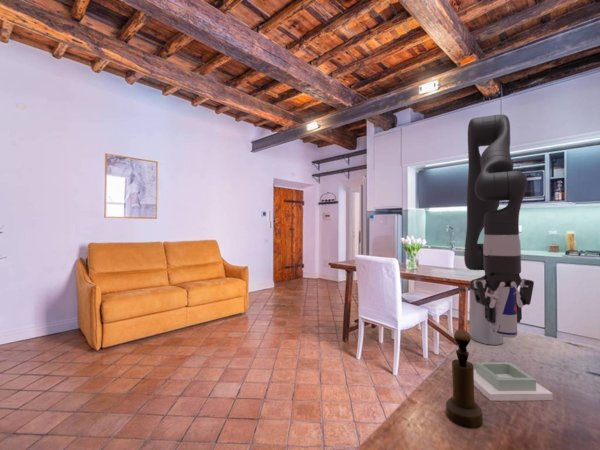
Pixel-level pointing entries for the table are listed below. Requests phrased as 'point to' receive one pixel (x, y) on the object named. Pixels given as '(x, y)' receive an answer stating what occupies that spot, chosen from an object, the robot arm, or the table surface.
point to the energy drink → (505, 313)
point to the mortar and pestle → (463, 387)
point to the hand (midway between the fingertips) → (503, 321)
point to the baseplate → (507, 383)
